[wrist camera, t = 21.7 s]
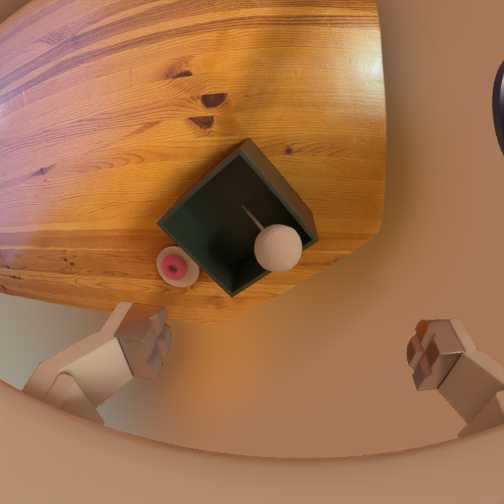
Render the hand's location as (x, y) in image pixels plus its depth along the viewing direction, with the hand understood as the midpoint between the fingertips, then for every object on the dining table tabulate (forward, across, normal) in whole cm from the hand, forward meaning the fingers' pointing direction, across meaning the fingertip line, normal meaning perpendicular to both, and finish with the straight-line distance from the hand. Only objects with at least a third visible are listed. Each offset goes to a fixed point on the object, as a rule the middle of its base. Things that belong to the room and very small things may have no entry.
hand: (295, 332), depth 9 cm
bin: (+37, +6, +10) cm, 39 cm away
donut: (+37, +17, +23) cm, 47 cm away
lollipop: (+37, +6, +10) cm, 38 cm away
